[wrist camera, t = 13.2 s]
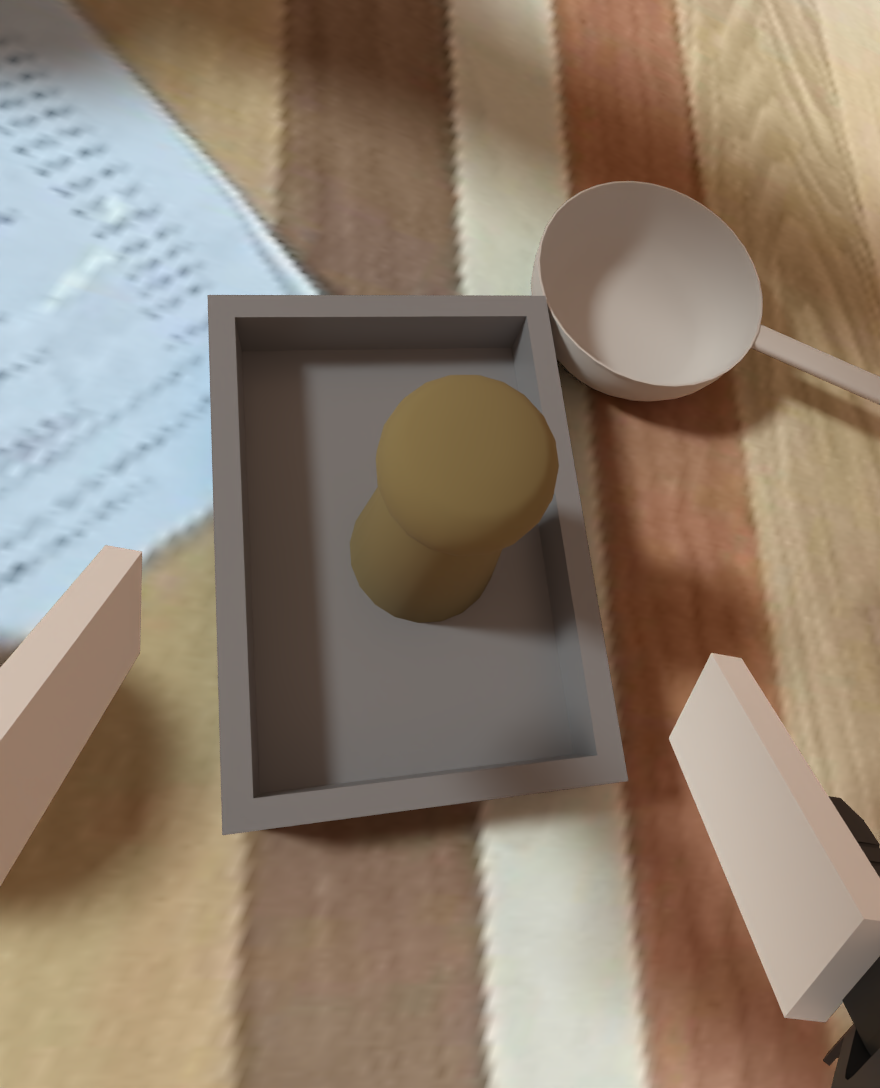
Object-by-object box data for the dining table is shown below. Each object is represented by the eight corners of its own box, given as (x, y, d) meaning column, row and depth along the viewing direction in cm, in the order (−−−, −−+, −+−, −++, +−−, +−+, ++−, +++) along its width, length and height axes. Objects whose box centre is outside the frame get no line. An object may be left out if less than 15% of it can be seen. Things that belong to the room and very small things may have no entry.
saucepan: (562, 199, 37) (589, 138, 33) (868, 351, 37) (927, 308, 33) (483, 359, 33) (502, 311, 29) (820, 524, 34) (880, 497, 30)
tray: (219, 343, 31) (207, 295, 28) (523, 340, 34) (545, 295, 30) (235, 823, 26) (222, 835, 23) (592, 776, 28) (628, 780, 25)
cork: (321, 523, 28) (320, 396, 18) (445, 457, 30) (510, 305, 20) (398, 651, 28) (444, 595, 17) (522, 576, 29) (632, 483, 19)
